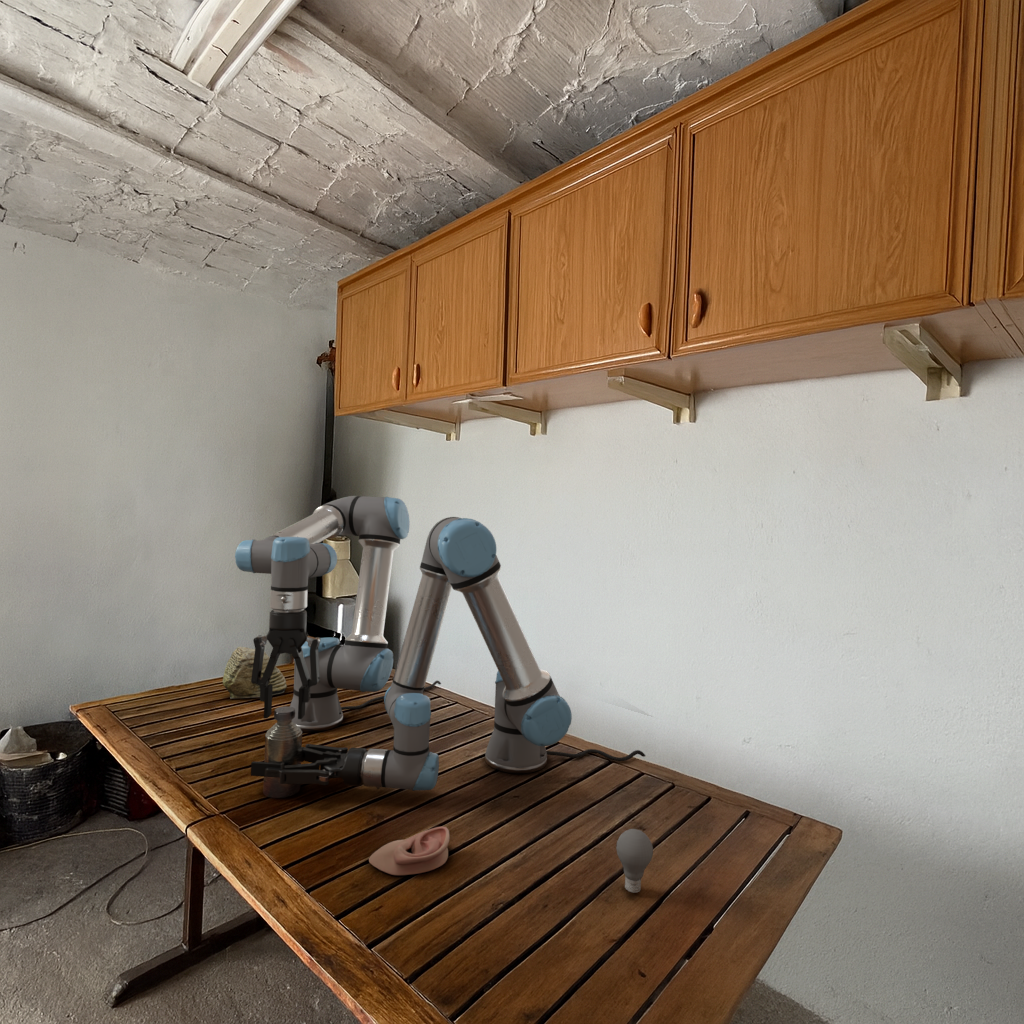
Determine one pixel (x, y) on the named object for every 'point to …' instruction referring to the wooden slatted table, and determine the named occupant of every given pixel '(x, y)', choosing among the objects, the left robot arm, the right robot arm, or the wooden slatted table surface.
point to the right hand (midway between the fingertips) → (260, 760)
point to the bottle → (282, 756)
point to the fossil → (248, 675)
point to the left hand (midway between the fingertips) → (284, 716)
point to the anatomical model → (413, 853)
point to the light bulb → (634, 857)
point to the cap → (284, 713)
